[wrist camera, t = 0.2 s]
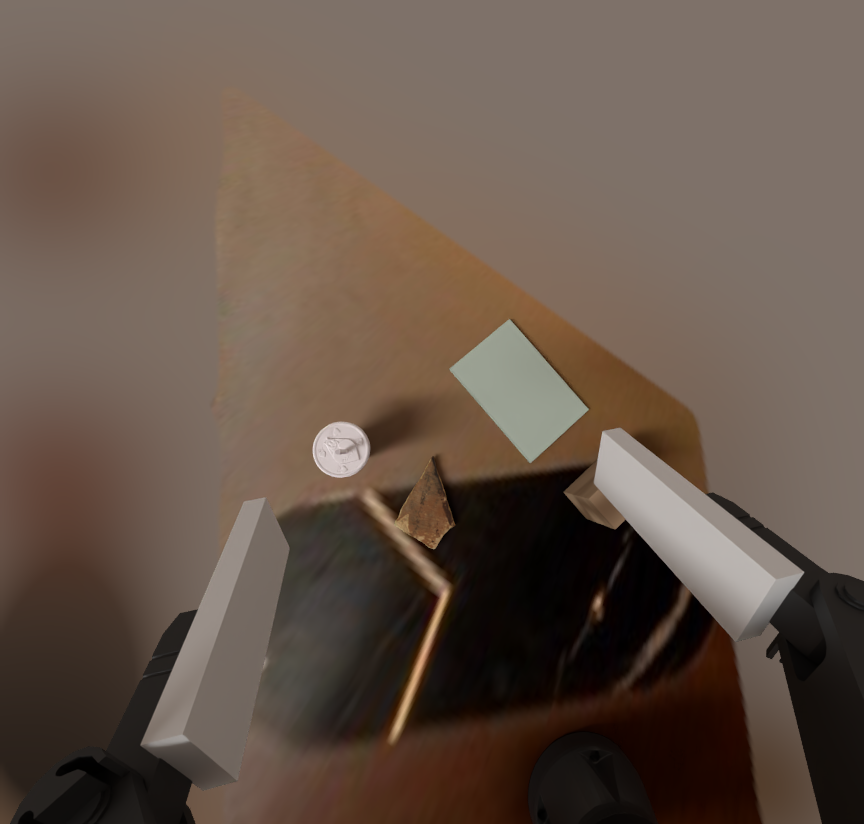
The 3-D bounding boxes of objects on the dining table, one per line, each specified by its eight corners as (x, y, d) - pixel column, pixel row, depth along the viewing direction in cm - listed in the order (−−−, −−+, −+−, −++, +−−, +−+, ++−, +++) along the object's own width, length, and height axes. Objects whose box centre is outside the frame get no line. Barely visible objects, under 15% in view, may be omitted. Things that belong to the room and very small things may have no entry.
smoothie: (361, 480, 48) (343, 493, 34) (321, 458, 48) (287, 461, 34) (385, 440, 49) (376, 437, 35) (345, 418, 48) (321, 406, 35)
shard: (432, 455, 49) (433, 455, 48) (477, 483, 49) (479, 484, 48) (392, 522, 48) (391, 525, 46) (438, 550, 48) (439, 554, 46)
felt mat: (586, 410, 51) (588, 409, 51) (529, 462, 50) (530, 462, 49) (508, 320, 52) (509, 318, 51) (449, 369, 50) (449, 368, 50)
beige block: (632, 472, 51) (668, 476, 44) (585, 518, 50) (615, 529, 43) (610, 447, 51) (642, 446, 44) (563, 492, 50) (588, 498, 43)
